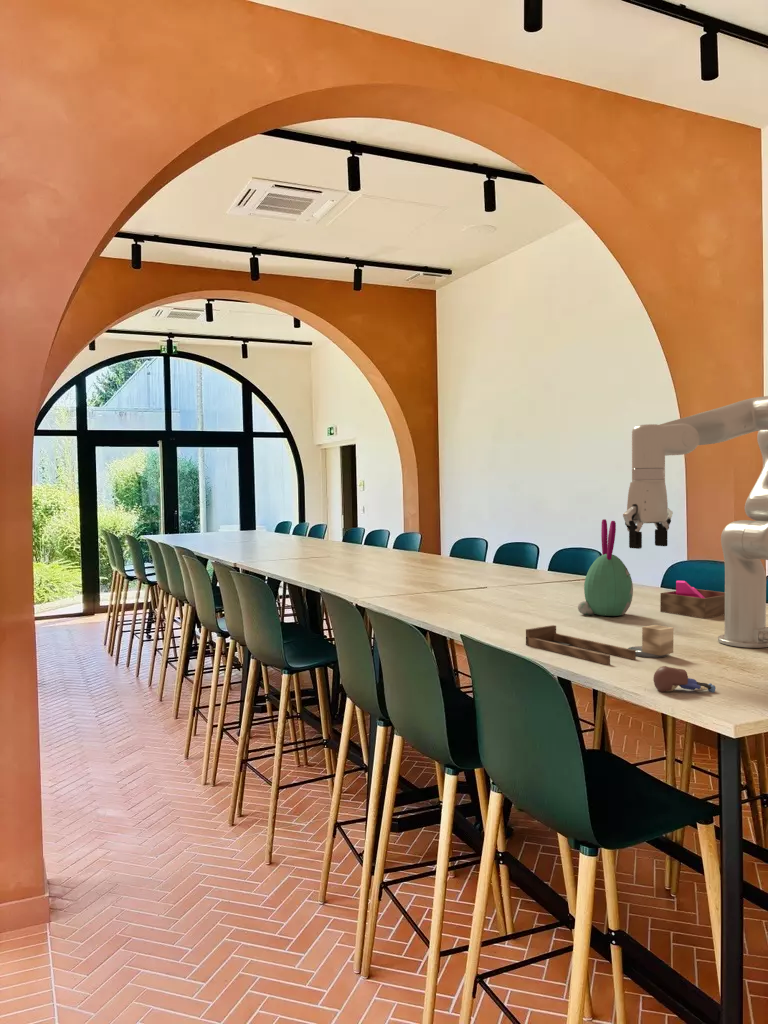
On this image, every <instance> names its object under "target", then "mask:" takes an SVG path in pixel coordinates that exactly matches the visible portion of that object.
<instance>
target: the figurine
mask: <svg viewBox="0 0 768 1024" xmlns="http://www.w3.org/2000/svg"><path fill="white" fill-rule="evenodd" d="M652 678H653V679H652V680H653V685H654V687H655V689H656V690H657V691H658V692H660V693H664V692H665V693H666V692H669V693H671V692H673V691H675V690H676V689H677V688H678V687H680V688H681V689H683V690H691V691H695V690H702V691H704V690H705V691H709V692H710V693H715V691H716V686H715V685H714V684H712V683H710V682H709V683H706V682H701V681H697V680H696V679H694V678H691V677H690V678H689V676H688V672H687V671H686V669H682V668H675V667H669V666H666V665H665V666H664V665H663V666H659V667H658V668H657V670H656V671H655V672H654V674H653V677H652Z"/></svg>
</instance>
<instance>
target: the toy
mask: <svg viewBox="0 0 768 1024" xmlns="http://www.w3.org/2000/svg"><path fill="white" fill-rule="evenodd" d="M616 526H617V525H616V521H615V520H611V521H610V523H609V530H608V521H607V519H605V518H604V519H602V520H601V530H600V532H601V535H600V536H601V552H602V553H601V554H602V555H600V556H598V557H597V558H596V559H595V560H594V561H593V563H592V564H591V565H590V566H589V569H588V571H587V574H586V575H585V579H584V585H583V589H584V598H585V600H583V601H581V602H579V603H578V605H577V610H578V612H579V613H580V614H582V615H586V616H589V615H590V616H591V615H598V616H603V617H604V616H606V617H607V616H608V617H617V616H622V615H625V614H626V613H627V611H628V610H629V608H630V607H631V605H632V601H633V596H634V584H633V579H632V576H631V573H630V571H629V570H628V568H627V566H626V565H625V563H624V561H622V559H621V558H620V557H619V556H617V555H615V554H613V552H614V546H615V539H616V531H617V529H616V528H617V527H616Z"/></svg>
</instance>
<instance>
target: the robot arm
mask: <svg viewBox="0 0 768 1024" xmlns="http://www.w3.org/2000/svg"><path fill="white" fill-rule="evenodd" d="M755 432H757V436H756V437H757V438H756V439H757V444H758V448H759V450H760V454H761V457H762V463H763V465H762V469H761V471H760V474H759V475H758V477H757V480H756V482H755V483H754V486H753V487H752V489H751V491H750V492H749V495H748V496H747V498H746V500H745V504H744V512H745V515H746V516H747V517H748V518H749V520H747V519H739V520H734V521H731V522H730V523H728V524H727V525H725V526H724V528H723V529H722V532H721V535H720V544H721V549H722V555H723V561H724V593H725V615H724V634H720V635H718V636H717V642H718V643H720V644H723V645H726V646H731V647H737V648H745V649H746V648H750V649H758V648H759V649H761V648H768V627H767V624H766V623H767V622H766V621H767V619H766V617H767V615H766V613H767V573H766V570H765V567H764V565H763V562H762V561H761V560H766V561H768V395H766V396H756V397H751V398H747V399H743V400H739V401H737V402H733V403H730V404H727V405H724V406H720V407H717V408H713V409H710V410H706V411H702V412H698V413H696V414H692V415H689V416H686V417H682V418H681V417H680V418H678V419H674V420H670V421H667V422H664V423H660V424H658V423H657V424H656V423H655V424H654V423H653V424H652V423H649V424H639V425H636V426H634V427H632V431H631V481H630V483H629V487H628V493H627V502H626V506H627V507H626V511H625V512H623V513H622V517H623V520H624V525H625V527H626V528H627V532H628V548H629V549H638V550H641V549H642V548H643V545H642V544H643V539H642V538H643V533H642V531H641V529H642V527H643V525H644V524H654V526H655V527H656V529H654V545H655V546H657V547H668V530H669V529H670V525H671V523H672V520H671V519H672V517H673V514H674V512H673V510H671V509H670V508H669V506H668V493H667V487H666V456H682V455H687V454H690V453H692V452H693V451H695V450H696V449H697V447H698V446H704V445H705V446H706V445H707V446H708V445H714V444H719V443H723V442H727V441H730V440H733V439H735V438H738V437H741V436H745V435H748V434H751V433H755ZM750 519H751V520H750Z"/></svg>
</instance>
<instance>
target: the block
mask: <svg viewBox="0 0 768 1024" xmlns="http://www.w3.org/2000/svg"><path fill="white" fill-rule="evenodd" d="M641 633H642V637H641V639H642V640H641V641H642V642H641V643H642V644H641V646H642V652H646V653H650V654H655V655H660V656H661V655H666V654H667V655H670V654H674V627H670V626H665V625H659V624H651V625H646V626H642V630H641Z"/></svg>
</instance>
